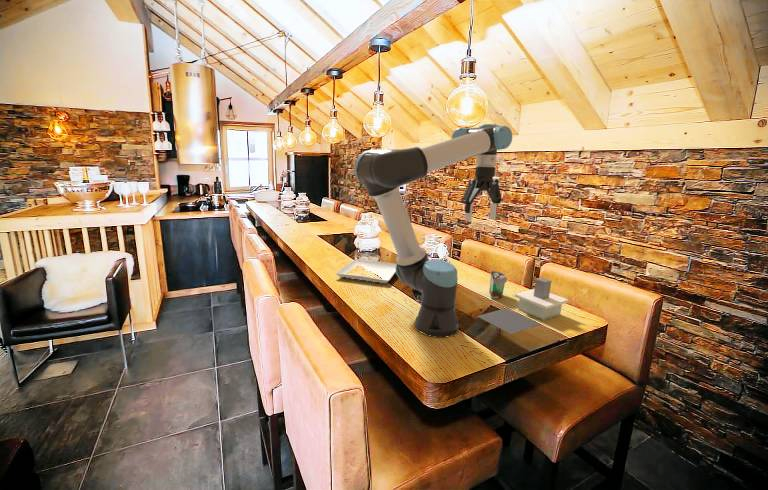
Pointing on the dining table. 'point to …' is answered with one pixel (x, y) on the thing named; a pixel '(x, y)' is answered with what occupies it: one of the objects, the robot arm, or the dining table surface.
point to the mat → (508, 320)
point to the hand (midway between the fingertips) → (480, 220)
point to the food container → (497, 284)
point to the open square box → (539, 310)
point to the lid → (542, 295)
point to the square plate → (376, 267)
